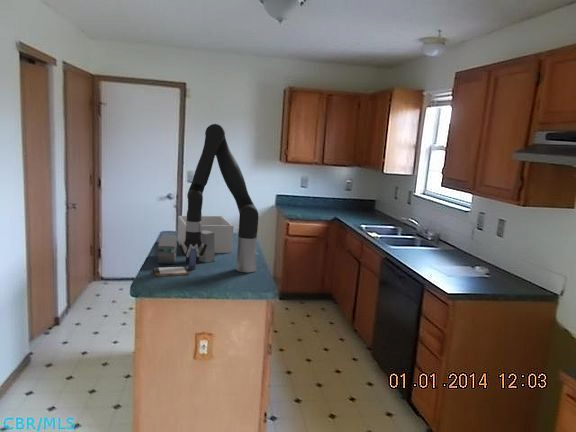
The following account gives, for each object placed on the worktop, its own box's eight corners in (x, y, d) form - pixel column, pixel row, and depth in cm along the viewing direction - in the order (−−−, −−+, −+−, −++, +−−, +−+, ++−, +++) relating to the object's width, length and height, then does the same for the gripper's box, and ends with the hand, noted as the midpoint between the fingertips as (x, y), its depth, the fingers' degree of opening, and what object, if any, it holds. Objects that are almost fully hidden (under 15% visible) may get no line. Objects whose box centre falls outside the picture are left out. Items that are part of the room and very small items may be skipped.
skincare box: (214, 261, 238) (216, 232, 235) (203, 263, 232) (205, 233, 230) (205, 257, 243) (206, 229, 241) (194, 259, 238) (195, 230, 235)
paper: (183, 267, 220) (183, 266, 220) (186, 272, 211) (186, 272, 211) (158, 268, 215) (158, 267, 215) (160, 273, 207) (160, 273, 207)
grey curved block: (173, 267, 221) (174, 246, 220) (157, 267, 220) (157, 245, 218) (176, 254, 246) (177, 235, 244) (161, 254, 244) (162, 234, 242)
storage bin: (220, 240, 286) (221, 216, 284) (232, 252, 258) (233, 225, 255) (177, 241, 277) (178, 215, 274) (184, 253, 248) (185, 225, 245)
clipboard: (185, 268, 221) (185, 264, 221) (188, 275, 211) (188, 271, 211) (153, 269, 216) (154, 265, 215) (155, 276, 206) (155, 272, 205)
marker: (195, 267, 223) (196, 244, 221) (196, 270, 220) (197, 246, 218) (187, 268, 222) (188, 244, 220) (188, 270, 218) (189, 246, 216)
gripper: (206, 228, 224) (205, 261, 226) (177, 228, 218) (176, 262, 221) (209, 231, 217) (207, 265, 219) (179, 231, 212) (178, 266, 214)
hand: (192, 263), depth 220 cm, fingers closed on marker, 3 cm apart
